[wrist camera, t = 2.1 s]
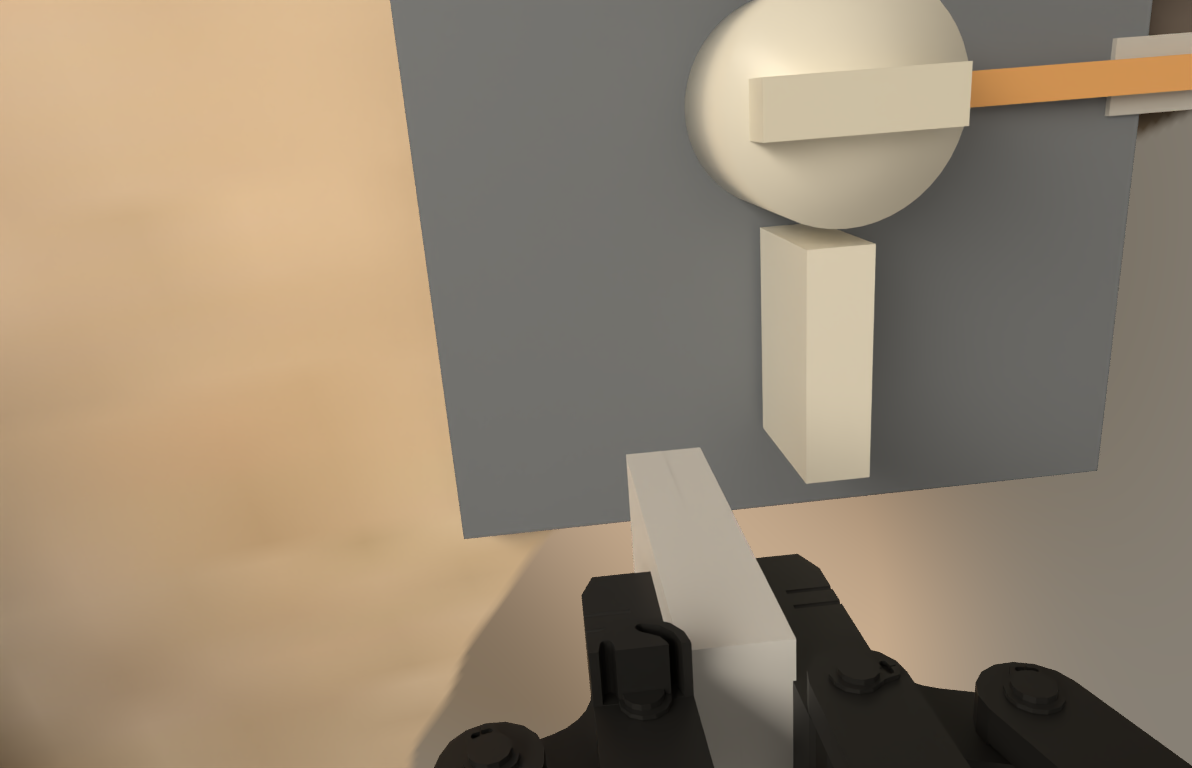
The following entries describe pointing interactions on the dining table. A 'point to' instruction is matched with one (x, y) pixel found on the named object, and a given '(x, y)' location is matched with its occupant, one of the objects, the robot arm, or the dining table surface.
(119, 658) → the dining table surface
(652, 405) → the tuner board
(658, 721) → the robot arm
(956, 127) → the dial
